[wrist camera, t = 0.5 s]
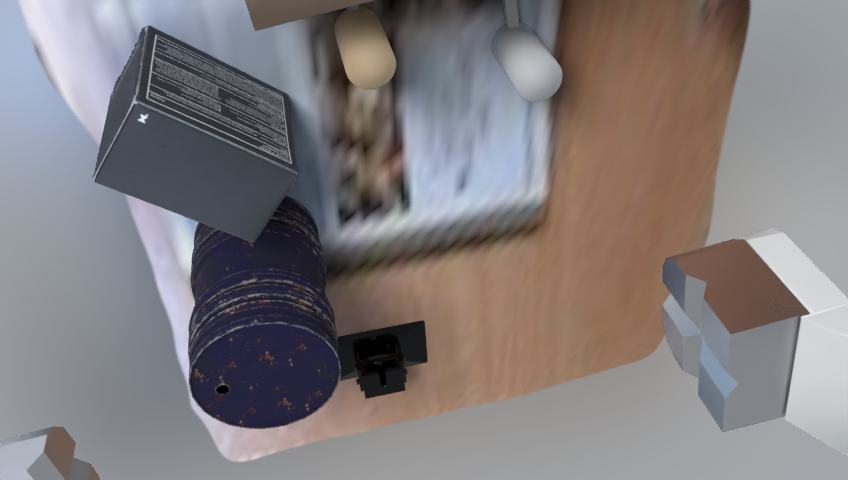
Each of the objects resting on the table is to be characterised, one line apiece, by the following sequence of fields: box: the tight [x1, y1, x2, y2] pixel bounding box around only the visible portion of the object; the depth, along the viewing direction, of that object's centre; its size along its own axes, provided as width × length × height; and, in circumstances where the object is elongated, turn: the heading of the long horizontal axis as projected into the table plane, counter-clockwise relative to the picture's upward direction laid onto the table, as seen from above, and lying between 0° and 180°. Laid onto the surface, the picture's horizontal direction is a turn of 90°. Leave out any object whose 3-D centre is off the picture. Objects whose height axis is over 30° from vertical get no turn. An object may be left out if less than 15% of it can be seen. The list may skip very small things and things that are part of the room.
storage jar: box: [188, 195, 341, 429], centre depth 58 cm, size 10×10×15 cm
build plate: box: [337, 321, 428, 398], centre depth 72 cm, size 12×7×5 cm, turn 94°
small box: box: [93, 26, 299, 242], centre depth 51 cm, size 11×6×10 cm, turn 55°
